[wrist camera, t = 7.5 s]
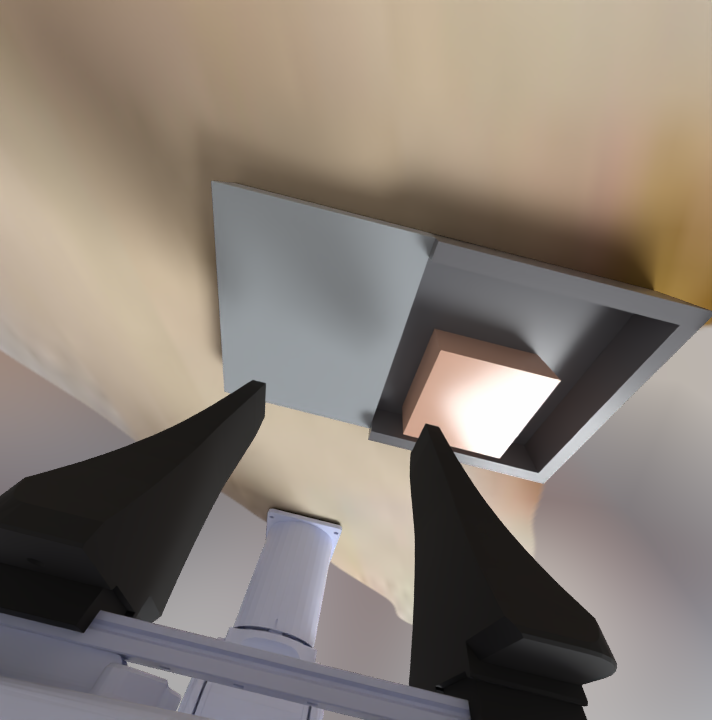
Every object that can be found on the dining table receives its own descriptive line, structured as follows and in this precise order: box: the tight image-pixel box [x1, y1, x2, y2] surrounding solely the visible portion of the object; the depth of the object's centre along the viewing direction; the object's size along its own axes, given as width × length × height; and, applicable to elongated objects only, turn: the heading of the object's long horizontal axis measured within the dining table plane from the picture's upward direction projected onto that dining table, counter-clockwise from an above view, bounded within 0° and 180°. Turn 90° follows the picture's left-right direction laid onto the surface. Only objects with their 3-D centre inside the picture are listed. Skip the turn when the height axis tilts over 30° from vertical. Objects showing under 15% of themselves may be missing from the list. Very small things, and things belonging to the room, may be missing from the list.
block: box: [402, 329, 561, 458], centre depth 16 cm, size 6×6×2 cm
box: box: [368, 233, 712, 484], centre depth 15 cm, size 12×12×3 cm
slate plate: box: [211, 181, 435, 428], centre depth 16 cm, size 12×10×2 cm
